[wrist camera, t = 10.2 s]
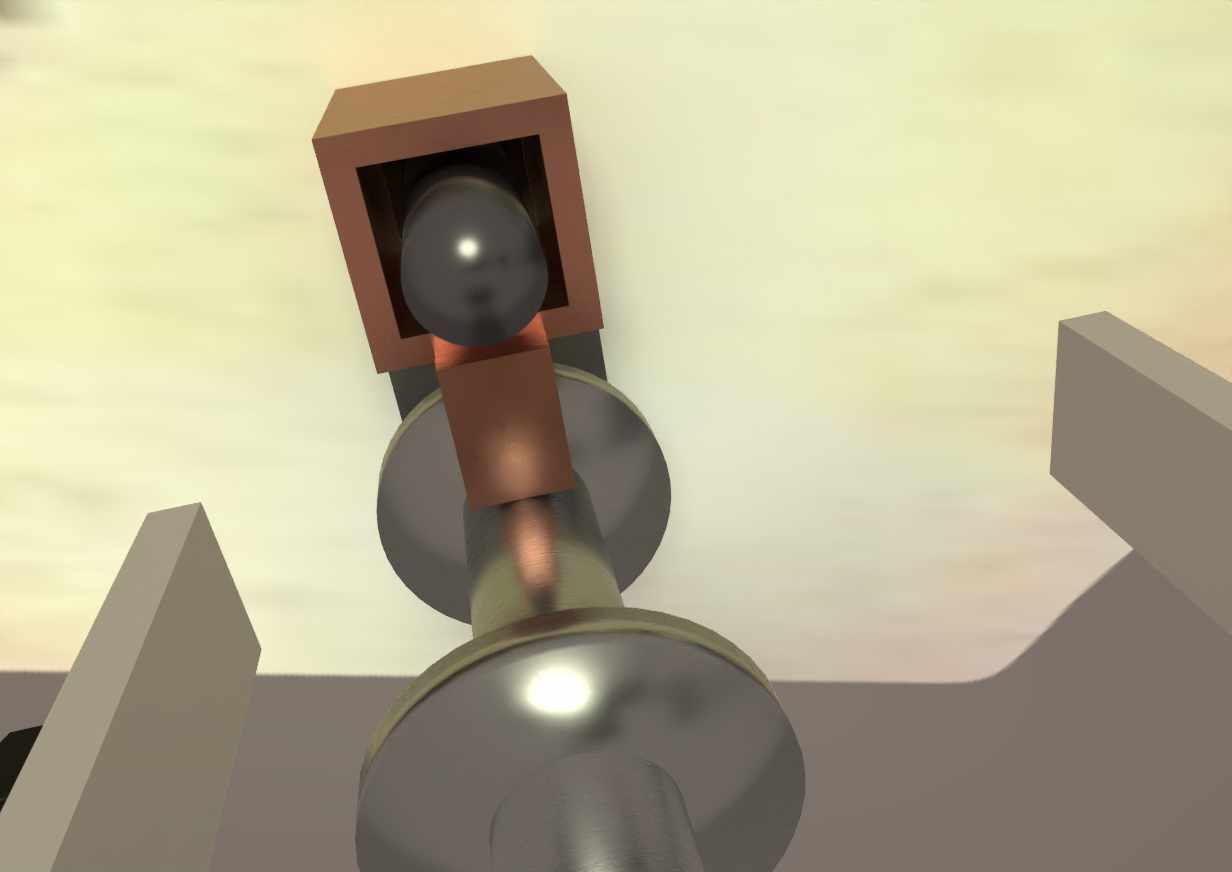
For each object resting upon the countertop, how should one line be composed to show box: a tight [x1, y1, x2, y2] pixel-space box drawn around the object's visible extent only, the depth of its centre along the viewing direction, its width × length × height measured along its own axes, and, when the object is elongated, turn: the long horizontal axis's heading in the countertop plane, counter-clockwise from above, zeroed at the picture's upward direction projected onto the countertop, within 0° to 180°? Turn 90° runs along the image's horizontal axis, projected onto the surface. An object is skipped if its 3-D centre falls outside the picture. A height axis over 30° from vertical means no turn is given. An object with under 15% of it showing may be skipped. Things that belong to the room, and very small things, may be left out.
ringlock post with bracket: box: [312, 55, 805, 872], centre depth 30 cm, size 11×20×29 cm, turn 8°
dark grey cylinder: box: [401, 141, 548, 347], centre depth 34 cm, size 4×4×14 cm
